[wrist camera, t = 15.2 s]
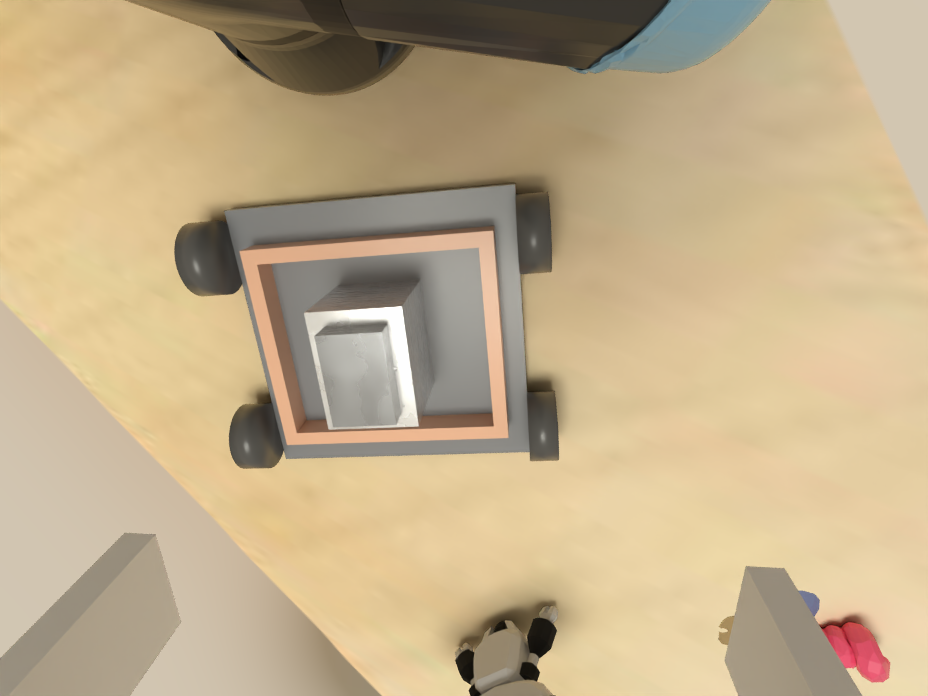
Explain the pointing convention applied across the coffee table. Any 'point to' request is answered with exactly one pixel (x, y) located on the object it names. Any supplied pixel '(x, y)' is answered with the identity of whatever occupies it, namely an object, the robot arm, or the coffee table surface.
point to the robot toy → (508, 658)
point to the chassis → (381, 260)
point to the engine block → (372, 354)
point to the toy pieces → (842, 644)
